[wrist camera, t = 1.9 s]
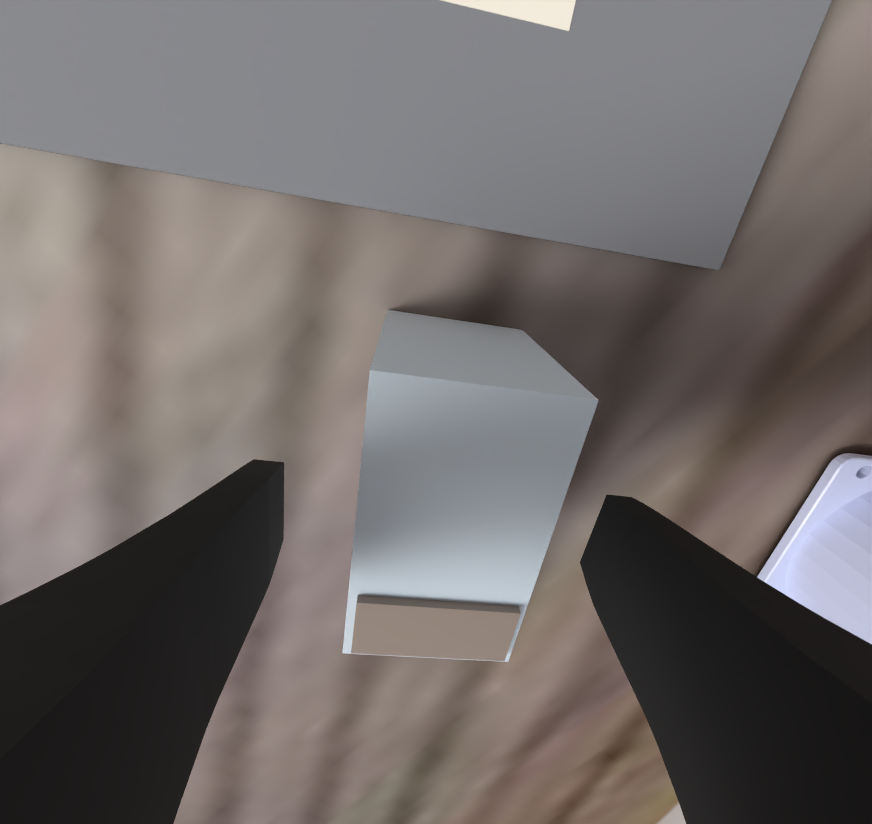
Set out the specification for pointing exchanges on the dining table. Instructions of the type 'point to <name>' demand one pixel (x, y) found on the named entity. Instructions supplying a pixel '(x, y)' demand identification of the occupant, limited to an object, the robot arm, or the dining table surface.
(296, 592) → the dining table surface
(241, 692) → the dining table surface
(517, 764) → the dining table surface
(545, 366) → the card box
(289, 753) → the dining table surface
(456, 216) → the mat
